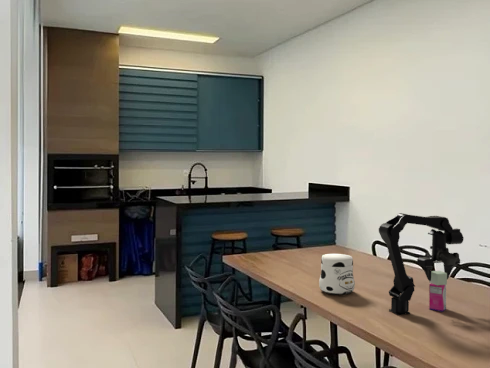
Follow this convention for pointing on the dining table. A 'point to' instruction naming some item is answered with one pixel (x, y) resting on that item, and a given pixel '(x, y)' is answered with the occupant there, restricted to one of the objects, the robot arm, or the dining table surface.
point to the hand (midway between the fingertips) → (438, 280)
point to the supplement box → (437, 297)
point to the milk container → (337, 274)
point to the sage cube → (438, 278)
